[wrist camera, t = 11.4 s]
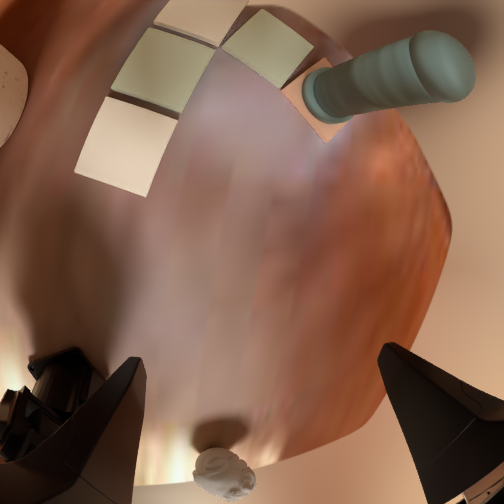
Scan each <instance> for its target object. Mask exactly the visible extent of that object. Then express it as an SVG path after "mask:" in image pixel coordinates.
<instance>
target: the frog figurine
mask: <svg viewBox="0 0 504 504" xmlns="http://www.w3.org/2000/svg"><path fill="white" fill-rule="evenodd" d="M195 467H196V470H194V471H193V477H194V481H195V482H196V484H197V485H198V486H199V487H201V488H203V489H204V490H205V491H206V492H208V493H210V494H212V495H214V496H218V497H221V498H224V499H226V500H227V501H228V502H234V501H237V500H239V499H240V498H243V497H245V496H247V495H248V493H250V492H251V491H252V490H253V489H254V488H255V486H256V477H255V474H254V472H253V471H252V469H251V468H250V467H247V464H246V462H245V461H244V460H241V459H239V457H238V455H237V454H234V453H233V452H231V451H230V450H228V449H225V448H219V447H215V448H210V449H207V450H205V451H203V452H202V453H201V454H200V455H199V456H198V458H197V460H196V464H195Z"/></svg>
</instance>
